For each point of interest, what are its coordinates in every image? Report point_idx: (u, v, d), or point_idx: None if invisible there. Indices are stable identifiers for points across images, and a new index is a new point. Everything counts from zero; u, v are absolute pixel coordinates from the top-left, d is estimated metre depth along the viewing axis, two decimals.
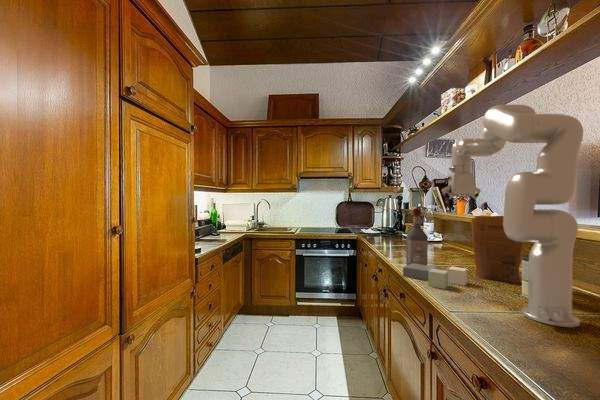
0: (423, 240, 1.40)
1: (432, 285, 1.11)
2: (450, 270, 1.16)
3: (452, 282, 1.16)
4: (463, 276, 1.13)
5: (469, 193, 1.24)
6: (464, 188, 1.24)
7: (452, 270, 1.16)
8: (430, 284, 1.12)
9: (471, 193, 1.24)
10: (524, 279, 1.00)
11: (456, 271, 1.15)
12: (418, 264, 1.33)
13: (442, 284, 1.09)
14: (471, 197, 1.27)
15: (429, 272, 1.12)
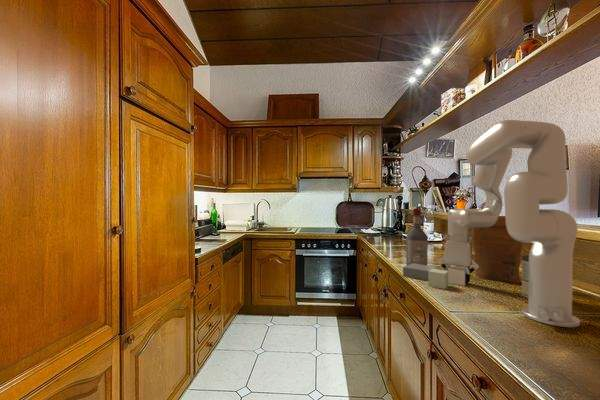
0: (423, 240, 1.40)
1: (432, 285, 1.11)
2: (450, 270, 1.16)
3: (452, 282, 1.16)
4: (463, 276, 1.13)
5: None
6: None
7: (452, 270, 1.16)
8: (430, 284, 1.12)
9: None
10: (524, 279, 1.00)
11: (456, 271, 1.15)
12: (418, 264, 1.33)
13: (443, 284, 1.09)
14: None
15: (429, 272, 1.12)
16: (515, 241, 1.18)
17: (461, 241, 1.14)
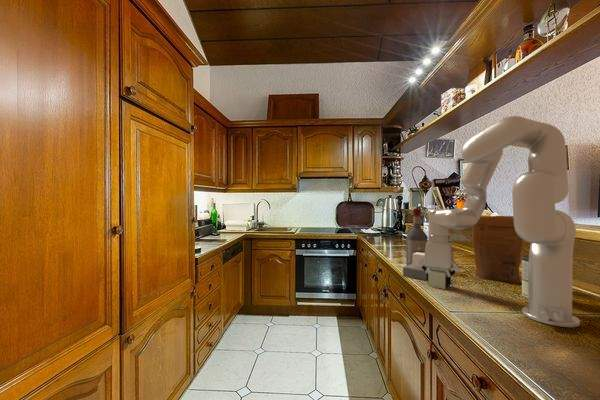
0: (423, 240, 1.40)
1: (432, 285, 1.11)
2: (414, 255, 1.27)
3: (416, 266, 1.26)
4: None
5: None
6: None
7: (416, 255, 1.26)
8: (430, 284, 1.12)
9: None
10: (524, 279, 1.00)
11: (419, 256, 1.25)
12: None
13: (443, 284, 1.09)
14: (428, 270, 1.15)
15: (429, 272, 1.12)
16: (515, 241, 1.18)
17: (441, 242, 1.09)
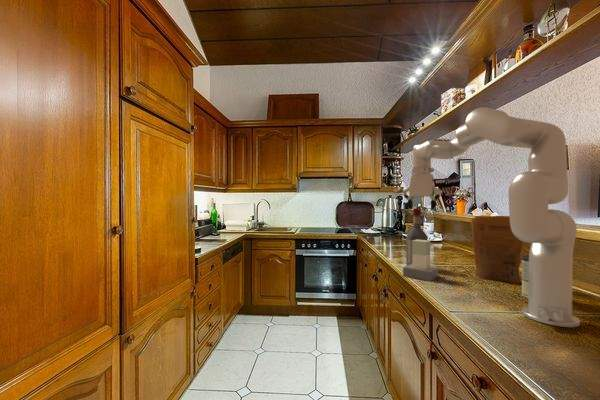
0: None
1: (415, 252, 1.26)
2: (414, 255, 1.27)
3: (416, 266, 1.26)
4: (425, 260, 1.24)
5: None
6: None
7: (416, 255, 1.26)
8: (414, 252, 1.27)
9: None
10: (524, 279, 1.00)
11: (419, 256, 1.25)
12: None
13: (424, 251, 1.24)
14: None
15: (413, 241, 1.27)
16: (515, 241, 1.18)
17: (423, 172, 1.24)
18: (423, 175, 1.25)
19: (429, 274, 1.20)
